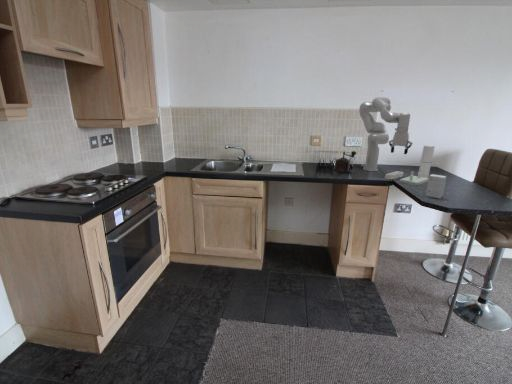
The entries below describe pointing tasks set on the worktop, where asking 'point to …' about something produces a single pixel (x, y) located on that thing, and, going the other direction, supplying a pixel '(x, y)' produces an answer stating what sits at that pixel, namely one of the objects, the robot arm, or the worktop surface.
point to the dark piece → (343, 163)
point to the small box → (436, 186)
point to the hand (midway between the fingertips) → (398, 153)
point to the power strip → (394, 175)
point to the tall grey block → (426, 160)
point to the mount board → (414, 179)
